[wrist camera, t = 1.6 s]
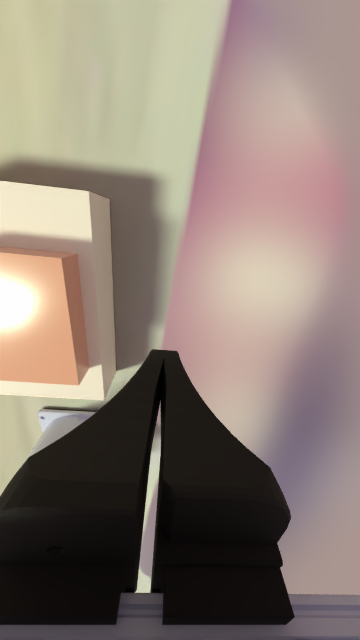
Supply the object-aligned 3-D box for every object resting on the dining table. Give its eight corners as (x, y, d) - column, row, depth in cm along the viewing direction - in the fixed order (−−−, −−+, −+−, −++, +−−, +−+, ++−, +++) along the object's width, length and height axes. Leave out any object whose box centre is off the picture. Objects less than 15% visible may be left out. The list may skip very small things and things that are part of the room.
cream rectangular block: (116, 371, 22) (104, 400, 18) (18, 364, 21) (-14, 393, 18) (109, 199, 15) (88, 191, 12) (-33, 182, 15) (-102, 168, 11)
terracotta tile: (89, 368, 17) (78, 385, 15) (12, 362, 16) (-8, 380, 15) (77, 253, 13) (61, 258, 11) (-23, 243, 13) (-56, 246, 11)
